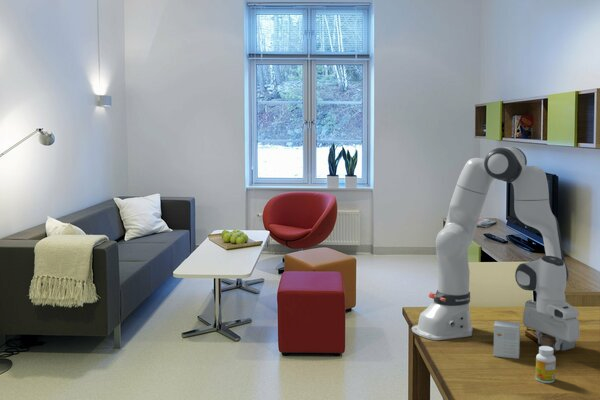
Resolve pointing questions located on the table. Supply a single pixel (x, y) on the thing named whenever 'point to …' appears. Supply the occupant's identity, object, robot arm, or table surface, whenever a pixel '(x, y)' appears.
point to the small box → (506, 339)
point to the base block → (566, 345)
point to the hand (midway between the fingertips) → (548, 346)
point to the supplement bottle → (545, 365)
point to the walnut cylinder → (548, 341)
